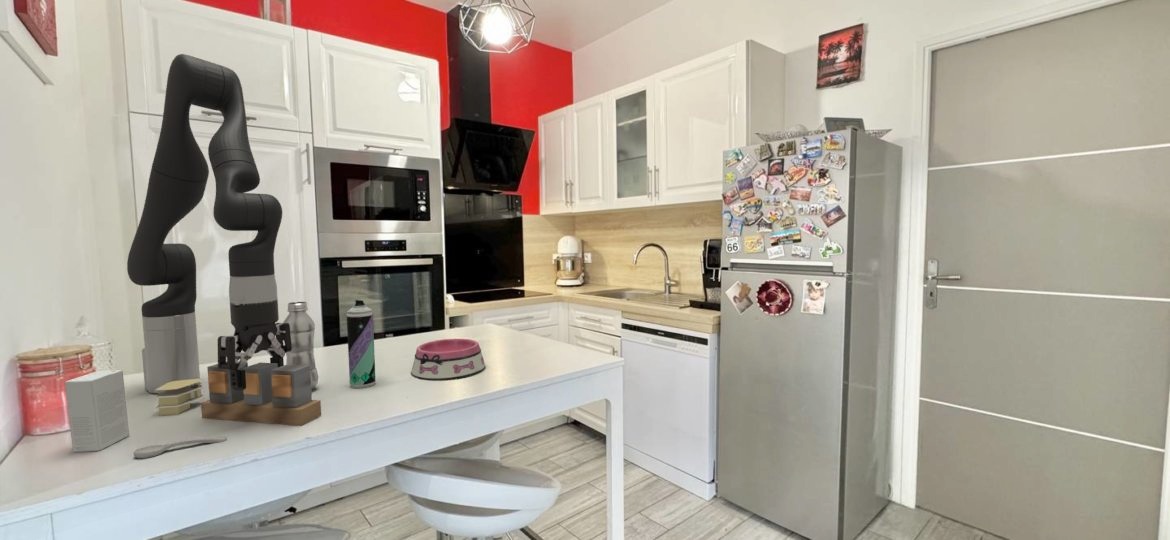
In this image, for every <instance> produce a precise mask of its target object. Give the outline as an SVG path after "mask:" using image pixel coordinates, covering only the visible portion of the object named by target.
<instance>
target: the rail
mask: <svg viewBox="0 0 1170 540" xmlns="http://www.w3.org/2000/svg"><path fill="white" fill-rule="evenodd" d="M226 363H227V360H226ZM238 363H239V361H238ZM238 363H237V364H238ZM247 366H249V364H248V361H247V363H246V365H245V367H247ZM206 368H207V383H208V392H209V393H208V395H209V397H208V398H209V399H207V400H205V401H201V402H200V408H201V409H200V410H201V418H202V419H210V420H220V421H221V420H224V421H235V422H249V423H261V424H262V423H263V424H277V425H291V426H301V427H302V426H304V425H306V424H308V423H310V422H311V421H313V420H315V419H317V418H320V417H322V404H321V403H322V401H321V400H320V399H319V400H318V399H312V398H313V397H312V389H311V376H310V365H290V364H287V365H286V364H284V366H281V367H278V368H275V369H272V370H270V371H271V387H272V402H269V403H267V404H265V405H250V404H245V403H244V391H243V390H234V389H233V388H232V386H231V378H230V371H229V370H225V369H219V368H218V363H216V364H213V365H209V366H207V367H206Z"/></svg>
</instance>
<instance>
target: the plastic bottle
mask: <svg viewBox="0 0 1170 540" xmlns="http://www.w3.org/2000/svg"><path fill="white" fill-rule="evenodd" d="M307 311H309V310H308V303H307V301H292V302H288V303H287V311H286V312H288V315H287V316H286V318H285V319H284V321H283V322H282V323H289V325H290V334H291V344H292V350H291V351H290V352H287V353H285V357H286V364H285V365H287V364H290V365H310V376H311V390H313V389H315V388H316V386H317V385H318V383H319V374H318V369H317V366H316V359H315V354H314V353H315V350H314V342H315V341H314V340H315V331H316V330H315V329H316V324H315V322H314V320H313V318H312V317H311V316H310V315H309V314H308V313H307ZM283 343H285V341H284V340H283Z"/></svg>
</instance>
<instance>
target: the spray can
mask: <svg viewBox="0 0 1170 540" xmlns="http://www.w3.org/2000/svg"><path fill="white" fill-rule="evenodd" d="M346 329H347V330H346V331H347V349H348V355H347V356H348V373H349V374H348V375H349V377H348V378H349V387H350V388H351V389H352V388H353V389H364V388H365V389H366V388H370V387H372V386H374V385H376V363H375V362H376V361H375V360H376V359H375V357H376V355H375V335H374V334H375V333H374V314H373V309H372V308H370V307H368V306H367V304H365V303H364V300H363V299H355V301H354V305H352V307H351V308H350V309H348V310H347V311H346Z"/></svg>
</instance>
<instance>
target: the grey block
mask: <svg viewBox="0 0 1170 540" xmlns="http://www.w3.org/2000/svg"><path fill="white" fill-rule="evenodd" d="M275 368H278V363H270V362H257V363H254V364H251V365H248V366H247V367H244V369H243V370H245V375H246V389H244V390H243V391H244V403H245V404H250V405H265V404H267V403H269V402H272V387H271V371H270V370H272V369H275Z"/></svg>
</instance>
